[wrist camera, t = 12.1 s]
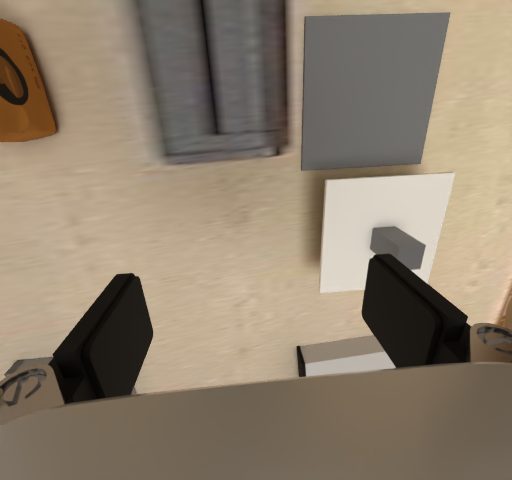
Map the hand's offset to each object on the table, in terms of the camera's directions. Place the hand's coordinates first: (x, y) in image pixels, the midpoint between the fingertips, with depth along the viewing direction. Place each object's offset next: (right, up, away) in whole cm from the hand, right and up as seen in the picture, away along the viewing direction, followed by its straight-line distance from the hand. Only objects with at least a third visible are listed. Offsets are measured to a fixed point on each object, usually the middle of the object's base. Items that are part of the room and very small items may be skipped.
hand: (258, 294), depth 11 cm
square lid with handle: (+17, +3, +25) cm, 30 cm away
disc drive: (+20, -25, +46) cm, 56 cm away
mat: (+15, +21, +25) cm, 36 cm away
